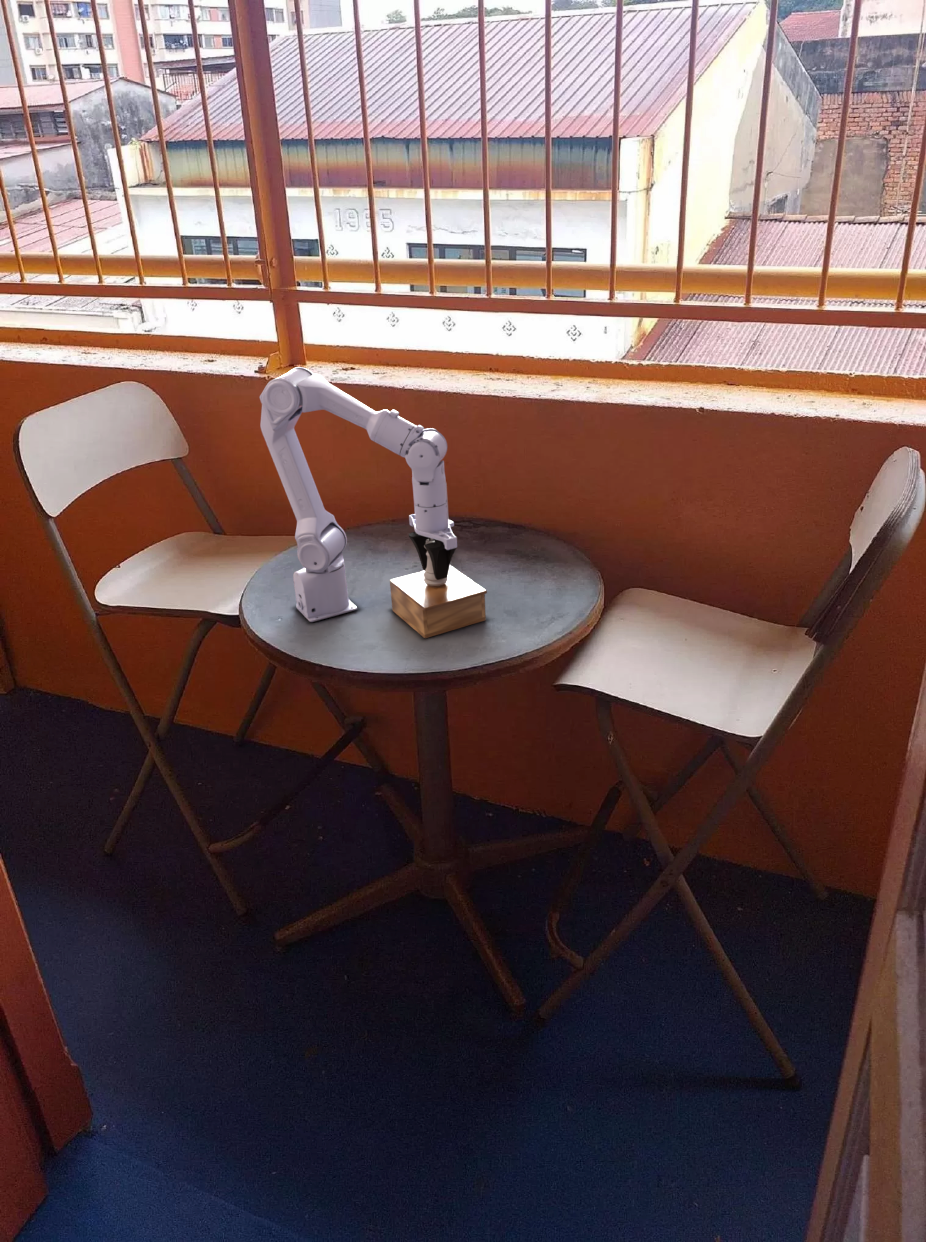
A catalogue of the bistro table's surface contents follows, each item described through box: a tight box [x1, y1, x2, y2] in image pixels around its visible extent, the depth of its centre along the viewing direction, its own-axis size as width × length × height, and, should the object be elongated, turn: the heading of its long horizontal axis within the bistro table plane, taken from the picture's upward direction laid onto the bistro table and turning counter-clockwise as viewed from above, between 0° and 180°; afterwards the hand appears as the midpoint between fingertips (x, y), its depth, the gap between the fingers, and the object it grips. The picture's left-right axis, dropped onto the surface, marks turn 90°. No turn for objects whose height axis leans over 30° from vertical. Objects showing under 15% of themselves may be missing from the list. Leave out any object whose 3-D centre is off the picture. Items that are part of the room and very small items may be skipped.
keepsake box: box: [389, 582, 487, 639], centre depth 168 cm, size 13×12×6 cm
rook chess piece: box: [423, 538, 448, 586], centre depth 164 cm, size 4×4×8 cm
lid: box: [389, 564, 488, 611], centre depth 166 cm, size 14×12×1 cm
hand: (435, 573), depth 166 cm, fingers closed on rook chess piece, 4 cm apart
